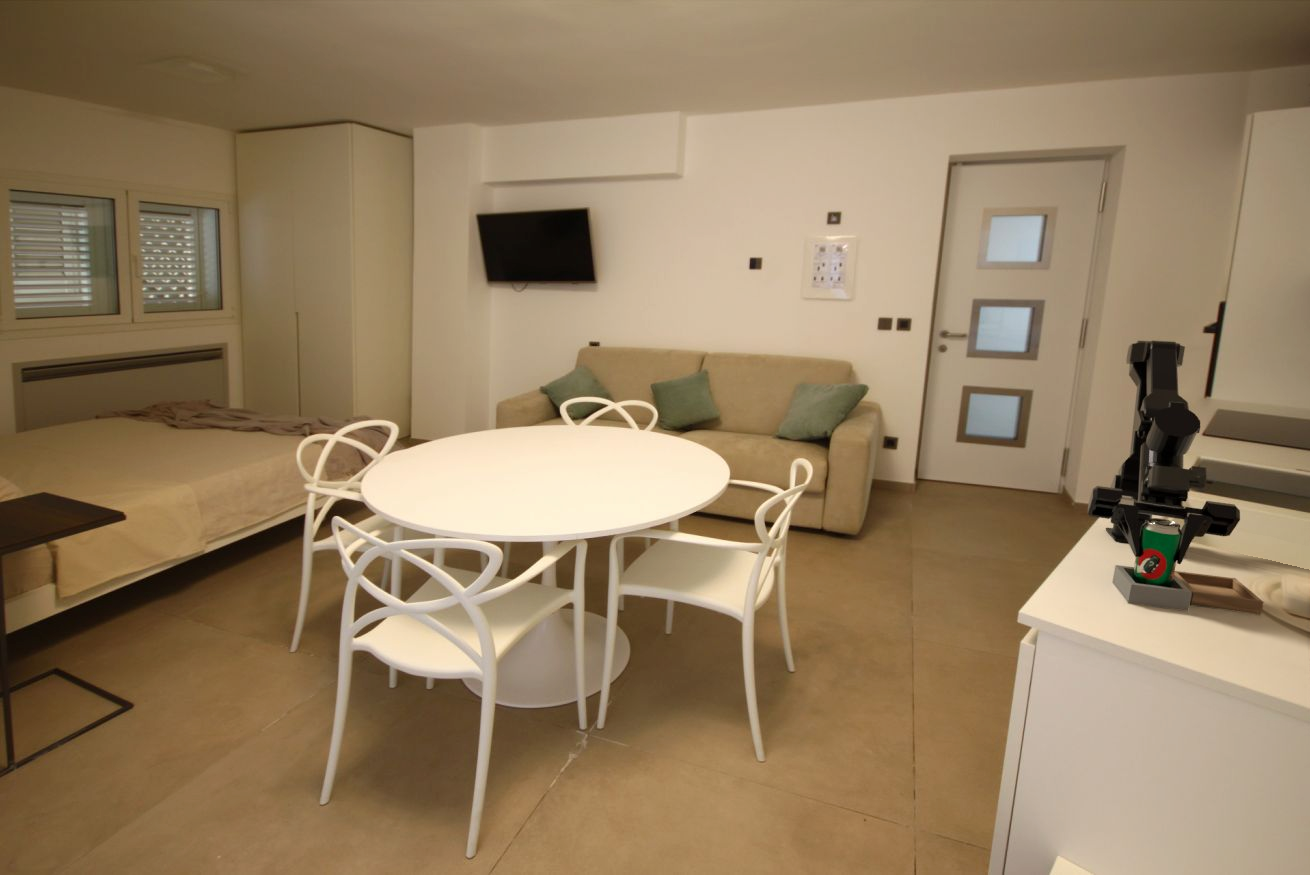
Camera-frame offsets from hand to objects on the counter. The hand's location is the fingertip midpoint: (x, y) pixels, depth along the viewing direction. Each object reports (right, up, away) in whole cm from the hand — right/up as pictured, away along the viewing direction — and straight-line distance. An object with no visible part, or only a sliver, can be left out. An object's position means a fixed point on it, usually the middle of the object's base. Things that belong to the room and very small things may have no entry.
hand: (1158, 559), depth 107 cm
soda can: (+1, -6, +3) cm, 7 cm away
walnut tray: (+10, -6, +3) cm, 13 cm away
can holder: (+1, -6, +3) cm, 7 cm away
